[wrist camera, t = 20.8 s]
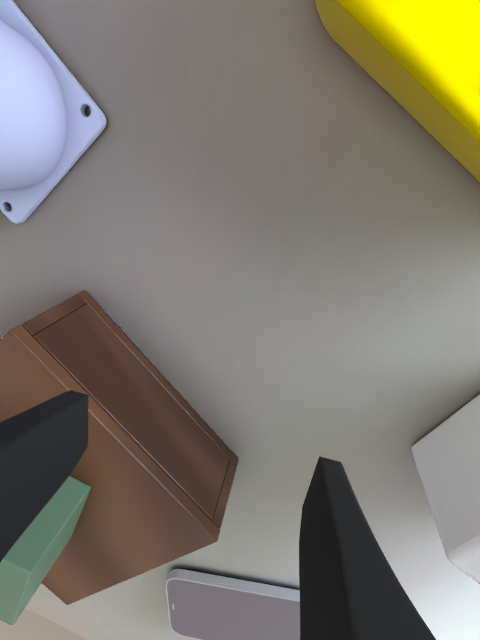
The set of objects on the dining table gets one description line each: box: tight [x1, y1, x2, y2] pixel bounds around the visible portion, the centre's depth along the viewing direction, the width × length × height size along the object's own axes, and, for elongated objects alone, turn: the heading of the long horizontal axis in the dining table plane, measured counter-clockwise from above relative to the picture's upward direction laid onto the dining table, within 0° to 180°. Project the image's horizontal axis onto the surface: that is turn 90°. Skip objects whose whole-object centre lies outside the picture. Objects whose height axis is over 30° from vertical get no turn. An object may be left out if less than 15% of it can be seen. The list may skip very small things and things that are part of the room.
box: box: [22, 291, 238, 529], centre depth 23 cm, size 12×14×5 cm
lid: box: [0, 325, 220, 605], centre depth 21 cm, size 13×14×1 cm
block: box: [0, 476, 91, 625], centre depth 18 cm, size 5×5×5 cm
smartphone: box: [165, 569, 300, 640], centre depth 30 cm, size 7×1×15 cm
